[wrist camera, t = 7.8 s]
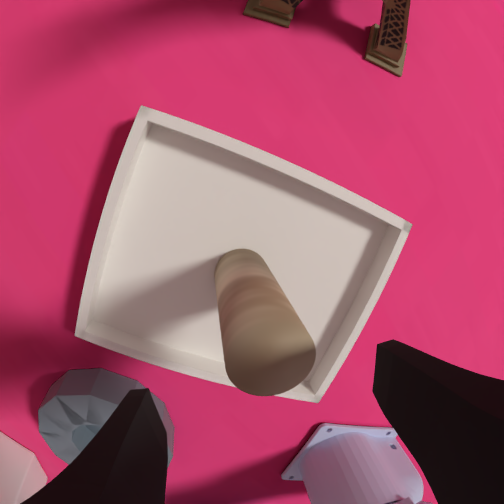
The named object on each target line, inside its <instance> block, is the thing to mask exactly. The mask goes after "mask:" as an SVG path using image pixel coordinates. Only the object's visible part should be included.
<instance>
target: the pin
mask: <svg viewBox="0 0 504 504" xmlns="http://www.w3.org/2000/svg"><path fill="white" fill-rule="evenodd" d="M214 278H215V287H216V296H217V305H218V314H219V322H220V331H221V339H222V347H223V355H224V362H225V369H226V373H227V376H228V378H229V379H230V381H231V382H232V383H233V384H234V385H235V386H236V387H237V388H238V389H240V390H242V391H244V392H246V393H248V394H252V395H256V396H272V395H277V394H281V393H284V392H286V391H289V390H291V389H292V388H294V387H296V386H297V385H299V384H300V383H301V382H302V381H303V380H304V379H305V378H306V377H307V376H308V374H309V373H310V371H311V370H312V368H313V365H314V362H315V358H316V348H315V344H314V341H313V339H312V338H311V336H310V334H309V333H308V331H307V329H306V328H305V326H304V324H303V323H302V321H301V320H300V318H299V316H298V315H297V313H296V311H295V310H294V308H293V306H292V305H291V303H290V302H289V300H288V298H287V297H286V295H285V293H284V292H283V290H282V288H281V287H280V285H279V284H278V282H277V280H276V279H275V277H274V275H273V274H272V272H271V271H270V269H269V267H268V266H267V264H266V262H265V261H264V259H263V258H262V257H261V256H260V255H259V254H258V253H256V252H255V251H252V250H249V249H235V250H232V251H229V252H228V253H226V254H225V255H223V256H222V257H221V258H220V260H219V261H218V263H217V265H216V267H215V273H214Z"/></svg>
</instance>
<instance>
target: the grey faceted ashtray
mask: <svg viewBox="0 0 504 504" xmlns="http://www.w3.org/2000/svg"><path fill="white" fill-rule="evenodd" d="M133 389H145V387H144V386H143V385H142V384H141V383H139V382H138V381H137V380H134V379H131V378H128V377H125V376H122V375H119V374H116V373H113V372H111V371H108V370H105V369H102V368H94V369H79V370H69V371H67V372H66V373H65V374H64V375H63V376H62V377H60V378H59V379H58V380H57V381H56V382H55V383H54V384H52V385H51V387H50V389H49V391H48V393H47V394H46V396H45V398H44V400H43V402H42V404H41V406H40V407H39V409H38V418H39V433H40V434H41V435H42V437H43V438H44V440H45V441H46V443H47V444H48V445H49V447H50V448H51V450H52V451H53V452H54V454H55V455H56V456H58V457H59V458H60V459H62V460H63V461H65V462H66V463H67V464H70V463H71V462H72V461H73V460H74V459H75V458H76V457H77V456H78V455H79V454H80V453H81V452H82V450H83V449H84V448H85V447H86V446H87V445H88V443H89V442H90V441H91V440H92V439H93V438H94V436H95V435H96V434H97V433H98V431H99V430H100V429H101V428H102V426H103V425H104V424H105V422H106V421H107V420H108V419H109V417H110V416H111V414H112V413H113V412H114V410H115V409H116V408H117V406H118V405H119V404H120V402H121V401H122V400H123V398H124V397H125V396H126V394H127V393H128V392H129V391H130V390H133ZM150 393H151V392H150ZM151 396H152V398H153V401H154V403H155V406H156V408H157V410H158V413H159V415H160V418H161V420H162V422H163V425H164V427H165V429H166V431H167V444H168V466H169V464H170V461H171V459H172V457H173V446H174V425H173V423H172V420H171V418H170V416H169V413H168V411H167V408H166V406H165V403H164V402H163V401H161V400H160V399H159V398H158V397H156V396H155V395H154V394H153V393H151ZM168 466H167V468H168Z"/></svg>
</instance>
